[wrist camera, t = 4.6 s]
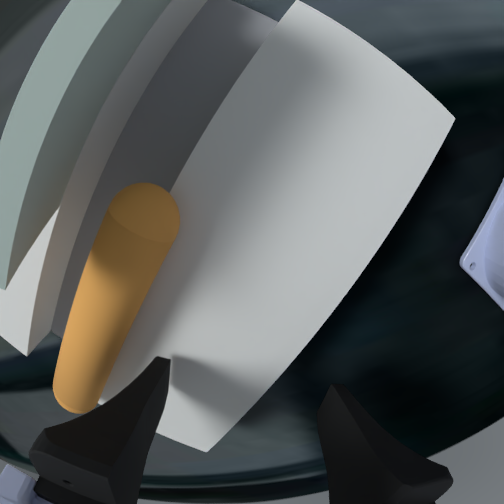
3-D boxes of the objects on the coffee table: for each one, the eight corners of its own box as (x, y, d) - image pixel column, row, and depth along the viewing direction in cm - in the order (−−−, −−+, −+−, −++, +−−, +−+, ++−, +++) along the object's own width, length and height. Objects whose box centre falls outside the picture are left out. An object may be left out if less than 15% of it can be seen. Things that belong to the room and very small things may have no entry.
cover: (215, -95, 3) (177, -109, 2) (5, 290, 6) (-26, 275, 5) (183, -15, 8) (162, -25, 8) (59, 206, 11) (39, 197, 10)
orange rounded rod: (177, 212, 8) (110, 168, 8) (80, 430, 11) (41, 399, 11) (202, 204, 11) (146, 169, 11) (102, 402, 14) (67, 375, 14)
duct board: (416, 122, 13) (455, 118, 10) (211, 411, 18) (206, 452, 15) (162, -21, 10) (143, -54, 7) (18, 300, 16) (-12, 325, 13)
